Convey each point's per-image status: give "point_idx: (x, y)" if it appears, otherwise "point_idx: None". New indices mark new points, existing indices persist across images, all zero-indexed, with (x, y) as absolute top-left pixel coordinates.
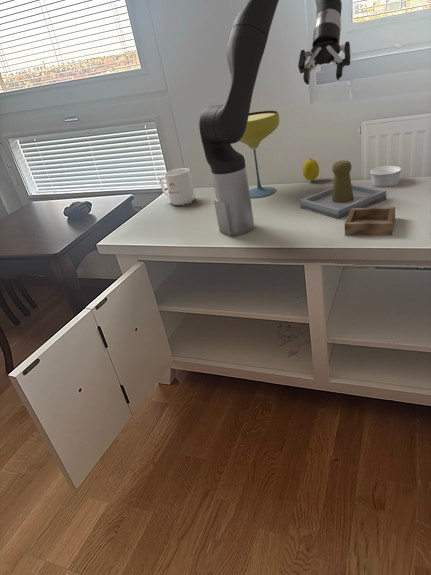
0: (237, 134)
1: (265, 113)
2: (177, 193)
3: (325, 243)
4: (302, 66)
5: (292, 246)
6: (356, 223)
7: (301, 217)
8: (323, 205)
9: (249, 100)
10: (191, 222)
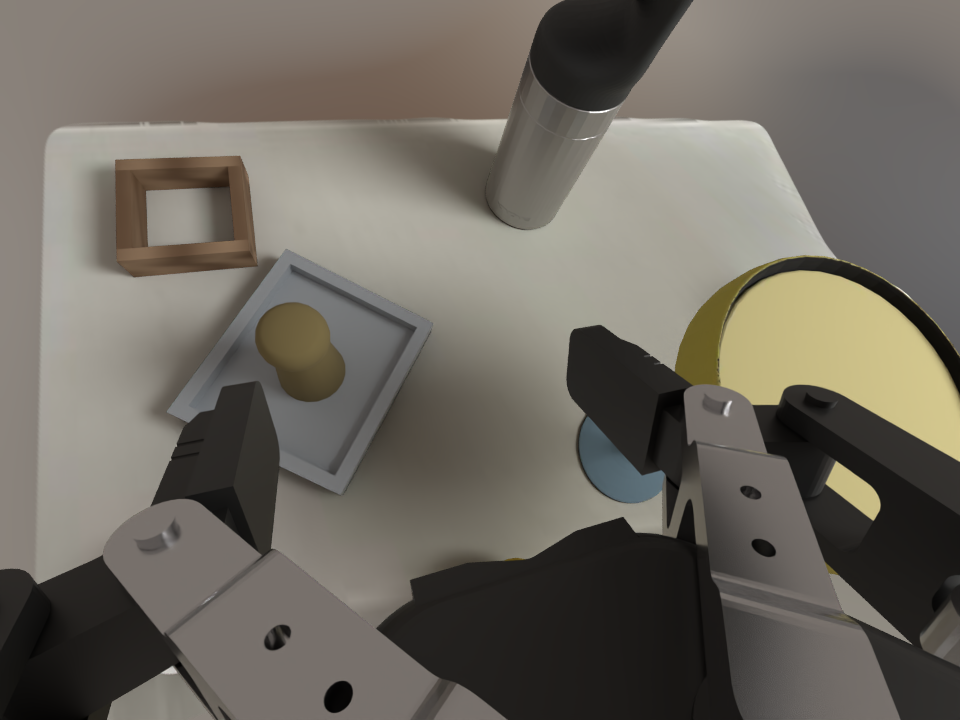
0: None
1: None
2: None
3: (282, 140)
4: (790, 432)
5: (351, 125)
6: (209, 159)
7: (398, 269)
8: (342, 282)
9: None
10: (663, 227)
